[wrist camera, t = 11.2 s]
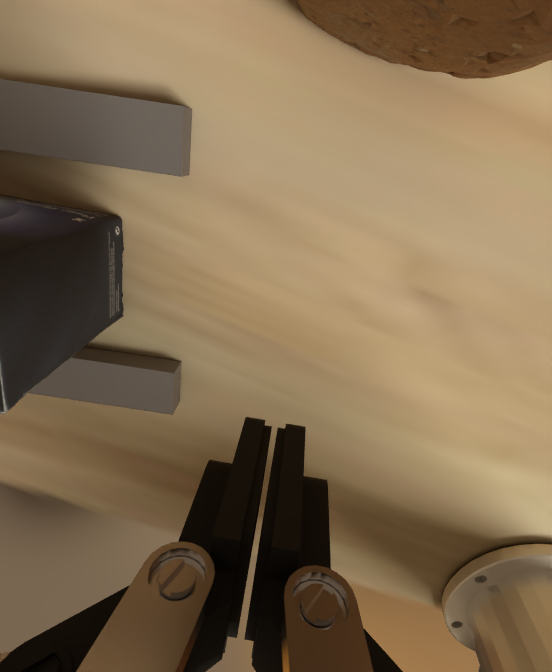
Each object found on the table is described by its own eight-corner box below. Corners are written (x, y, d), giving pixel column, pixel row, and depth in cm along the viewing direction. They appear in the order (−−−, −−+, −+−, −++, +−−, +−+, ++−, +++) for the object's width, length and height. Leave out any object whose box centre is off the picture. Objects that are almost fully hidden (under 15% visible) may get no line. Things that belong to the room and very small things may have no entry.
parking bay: (179, 401, 27) (172, 414, 25) (-75, 362, 27) (-96, 374, 25) (192, 109, 20) (183, 106, 18) (-153, 58, 20) (-187, 51, 18)
